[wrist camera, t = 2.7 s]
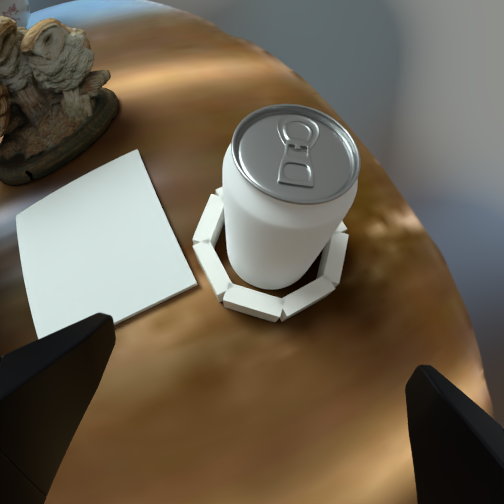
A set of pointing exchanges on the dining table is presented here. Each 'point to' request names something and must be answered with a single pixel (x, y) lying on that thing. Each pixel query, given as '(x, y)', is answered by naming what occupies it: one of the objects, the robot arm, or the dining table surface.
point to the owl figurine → (48, 98)
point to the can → (285, 191)
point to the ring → (255, 300)
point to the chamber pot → (16, 11)
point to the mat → (99, 248)
